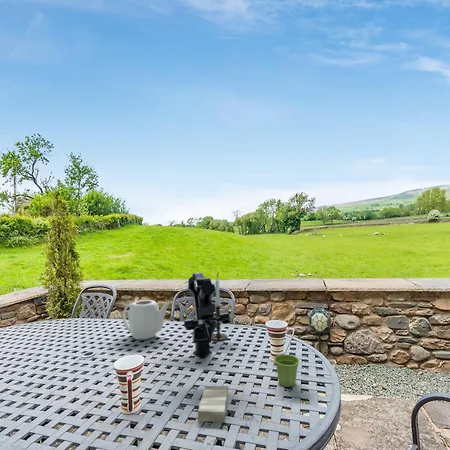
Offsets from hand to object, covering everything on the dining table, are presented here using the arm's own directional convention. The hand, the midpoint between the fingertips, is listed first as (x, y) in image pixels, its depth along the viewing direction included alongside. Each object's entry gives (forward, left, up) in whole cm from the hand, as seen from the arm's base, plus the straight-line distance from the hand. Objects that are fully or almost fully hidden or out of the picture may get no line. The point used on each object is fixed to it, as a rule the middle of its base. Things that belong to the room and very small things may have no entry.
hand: (210, 342), depth 122 cm
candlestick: (-26, +32, -13) cm, 43 cm away
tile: (+11, -8, -11) cm, 18 cm away
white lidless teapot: (-58, +9, -13) cm, 60 cm away
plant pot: (+26, +15, -13) cm, 32 cm away
